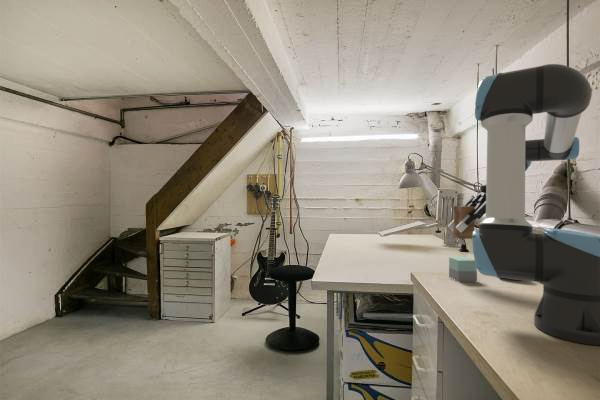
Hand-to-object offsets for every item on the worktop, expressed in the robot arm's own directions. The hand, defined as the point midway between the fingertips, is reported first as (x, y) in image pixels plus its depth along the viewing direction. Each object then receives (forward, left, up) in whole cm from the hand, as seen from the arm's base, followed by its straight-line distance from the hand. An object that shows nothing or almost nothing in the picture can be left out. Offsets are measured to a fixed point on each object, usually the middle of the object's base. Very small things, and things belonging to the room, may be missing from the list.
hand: (454, 229), depth 124 cm
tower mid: (+3, -1, -15) cm, 16 cm away
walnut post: (+4, -1, -3) cm, 5 cm away
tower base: (+3, -1, -19) cm, 20 cm away
